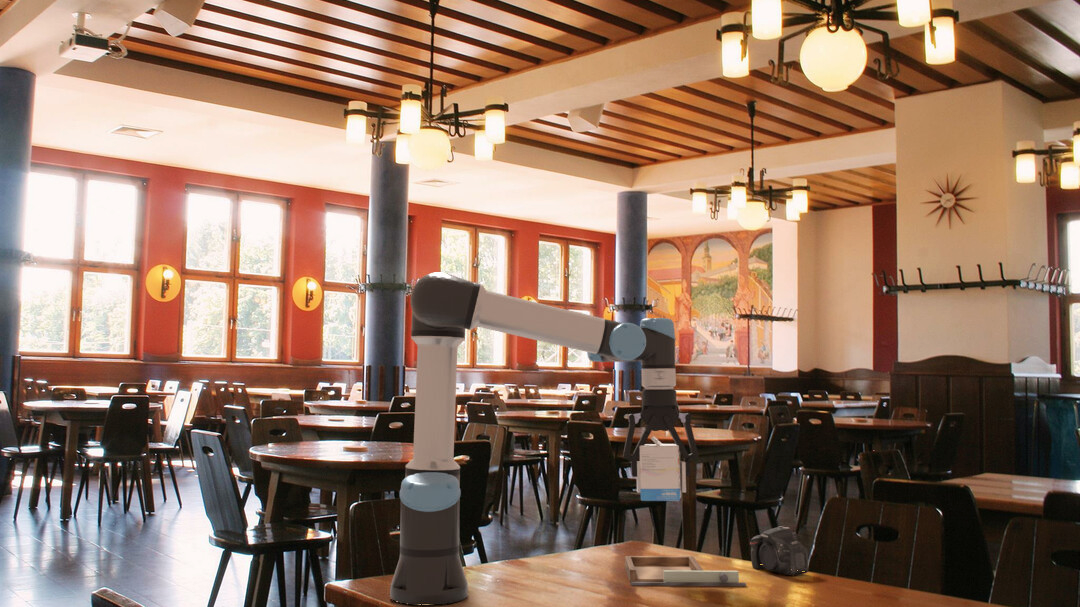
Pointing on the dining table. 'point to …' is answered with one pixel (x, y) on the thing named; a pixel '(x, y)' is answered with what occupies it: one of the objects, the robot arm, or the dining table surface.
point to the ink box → (660, 472)
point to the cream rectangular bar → (701, 576)
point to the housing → (653, 567)
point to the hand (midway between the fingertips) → (661, 491)
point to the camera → (779, 552)
